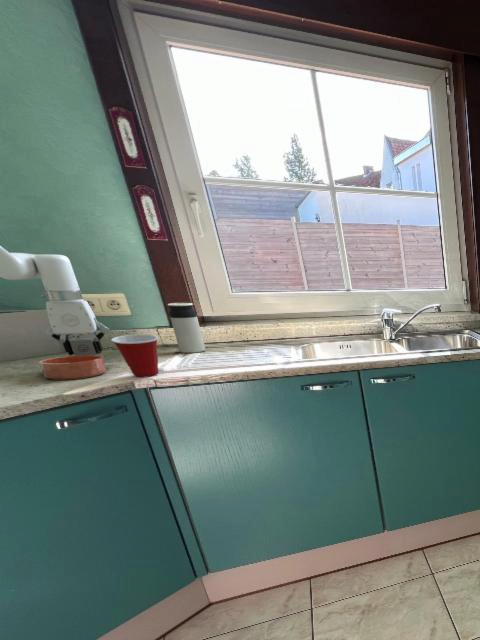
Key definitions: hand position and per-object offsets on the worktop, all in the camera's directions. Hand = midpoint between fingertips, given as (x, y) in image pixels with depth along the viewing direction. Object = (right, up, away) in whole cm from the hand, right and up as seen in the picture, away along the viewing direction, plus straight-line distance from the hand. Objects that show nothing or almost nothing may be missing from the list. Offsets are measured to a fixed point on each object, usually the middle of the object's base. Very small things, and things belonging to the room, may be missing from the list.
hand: (85, 353), depth 161 cm
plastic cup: (+25, -8, -5) cm, 27 cm away
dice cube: (0, -1, 0) cm, 1 cm away
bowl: (+6, -9, -8) cm, 13 cm away
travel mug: (+9, +7, +31) cm, 33 cm away
